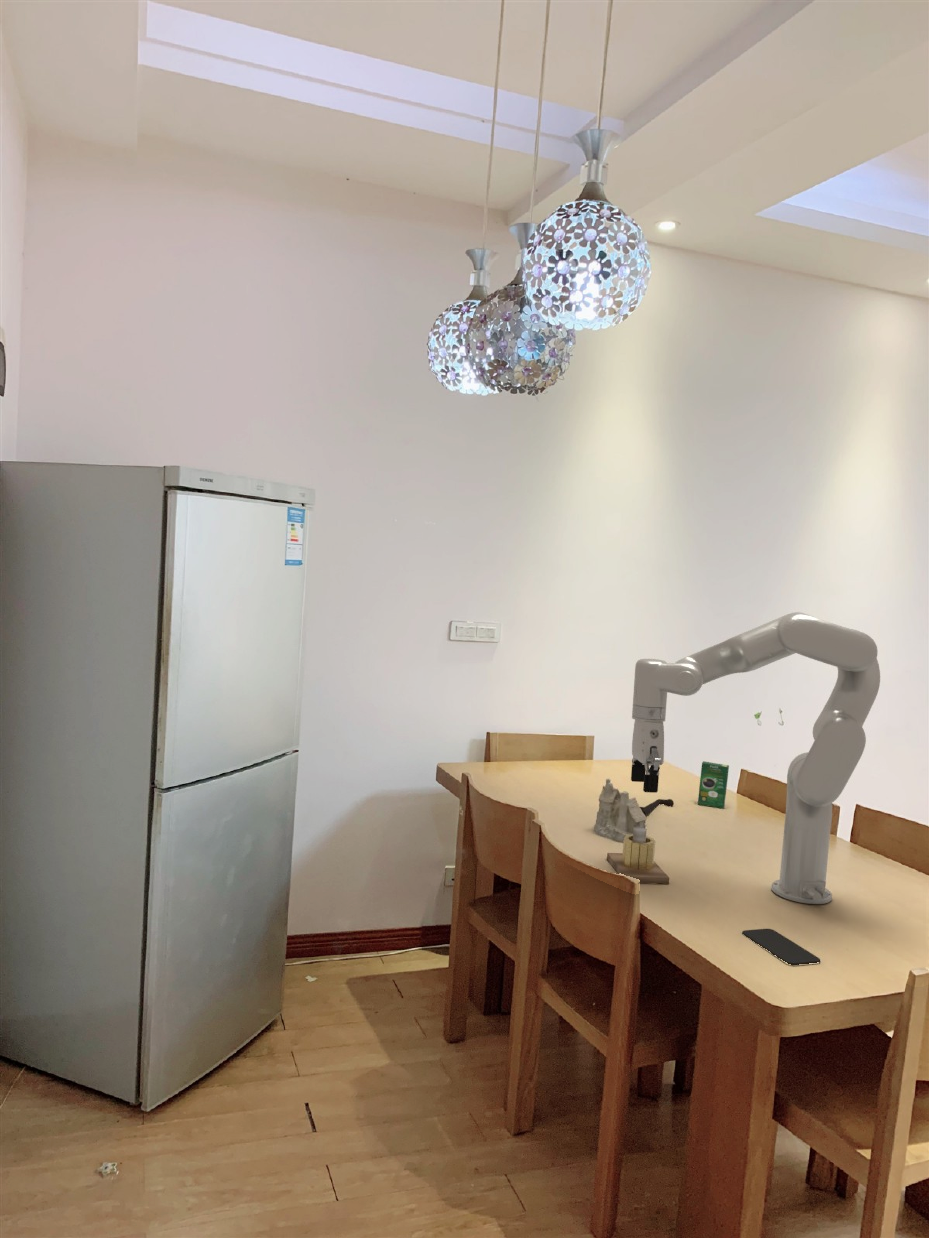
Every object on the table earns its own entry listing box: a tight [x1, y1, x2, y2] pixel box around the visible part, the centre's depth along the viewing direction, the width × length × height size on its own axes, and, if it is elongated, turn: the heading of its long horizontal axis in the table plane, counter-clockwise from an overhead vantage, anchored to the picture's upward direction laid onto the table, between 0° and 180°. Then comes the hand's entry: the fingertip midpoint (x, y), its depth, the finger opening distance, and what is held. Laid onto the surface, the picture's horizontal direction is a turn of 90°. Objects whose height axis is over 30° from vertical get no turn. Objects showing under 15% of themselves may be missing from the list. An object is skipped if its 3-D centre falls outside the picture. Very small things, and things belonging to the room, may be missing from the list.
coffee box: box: [697, 760, 730, 809], centre depth 271 cm, size 8×3×13 cm, turn 67°
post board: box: [606, 827, 670, 885], centre depth 208 cm, size 16×10×10 cm, turn 6°
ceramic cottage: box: [592, 777, 647, 844], centre depth 237 cm, size 16×16×15 cm
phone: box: [741, 928, 821, 965], centre depth 170 cm, size 7×1×15 cm
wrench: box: [639, 798, 675, 817], centre depth 257 cm, size 5×5×30 cm
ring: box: [622, 835, 656, 870], centre depth 208 cm, size 7×7×6 cm
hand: (643, 786), depth 207 cm, fingers open, 9 cm apart
